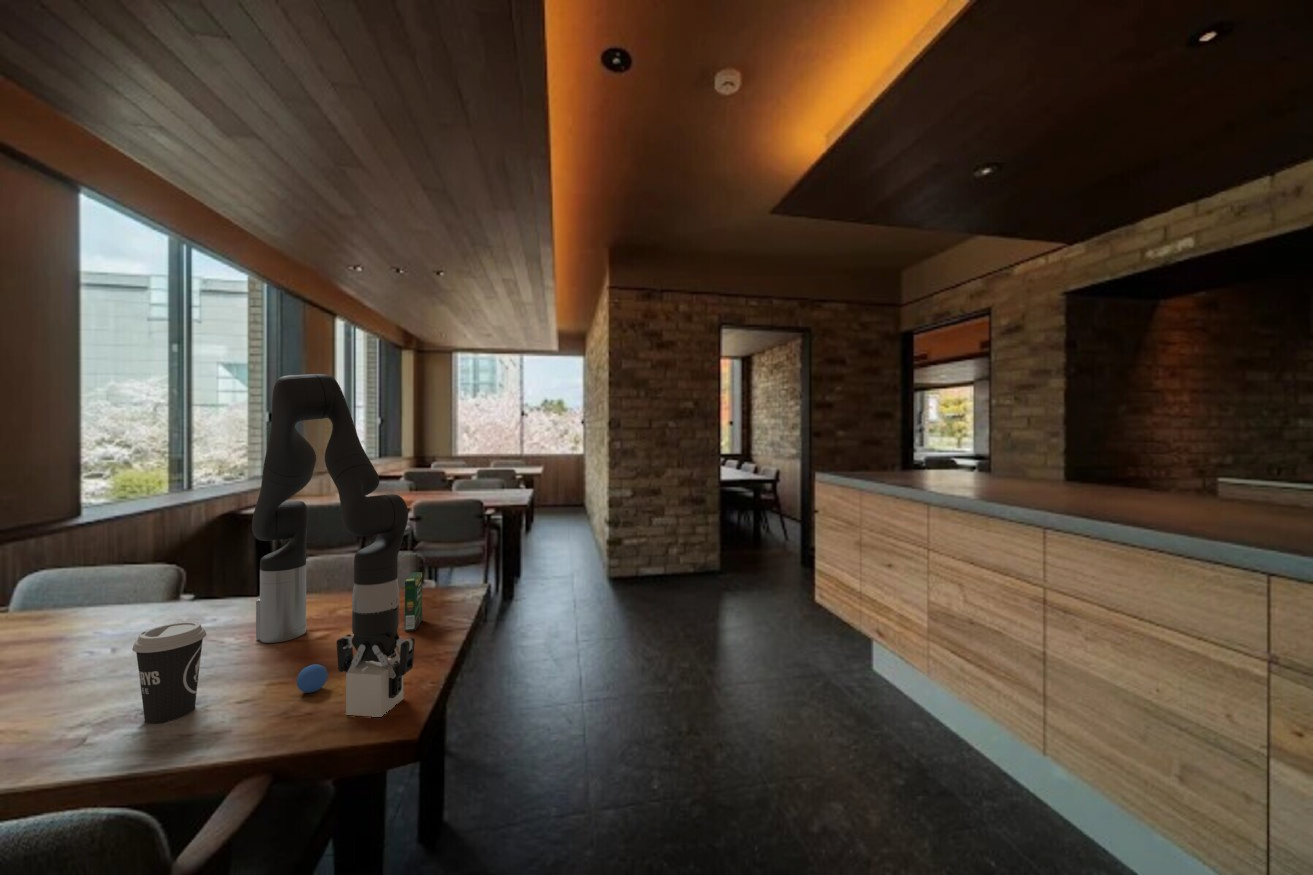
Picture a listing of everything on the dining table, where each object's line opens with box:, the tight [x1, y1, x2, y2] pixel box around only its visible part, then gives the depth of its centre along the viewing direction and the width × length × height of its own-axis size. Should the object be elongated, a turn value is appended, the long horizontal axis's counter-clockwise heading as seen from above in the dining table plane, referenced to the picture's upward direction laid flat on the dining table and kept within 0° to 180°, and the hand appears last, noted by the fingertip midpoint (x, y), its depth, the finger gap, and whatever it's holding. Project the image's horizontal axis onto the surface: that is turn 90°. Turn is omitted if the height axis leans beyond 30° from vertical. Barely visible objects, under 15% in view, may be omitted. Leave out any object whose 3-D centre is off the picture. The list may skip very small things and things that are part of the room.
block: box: [345, 657, 404, 718], centre depth 93 cm, size 7×7×8 cm
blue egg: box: [296, 663, 329, 693], centre depth 98 cm, size 5×5×5 cm
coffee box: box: [404, 571, 423, 632], centre depth 132 cm, size 8×3×13 cm, turn 13°
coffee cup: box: [131, 621, 207, 724], centre depth 90 cm, size 10×10×15 cm
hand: (375, 694), depth 93 cm, fingers closed on block, 6 cm apart
